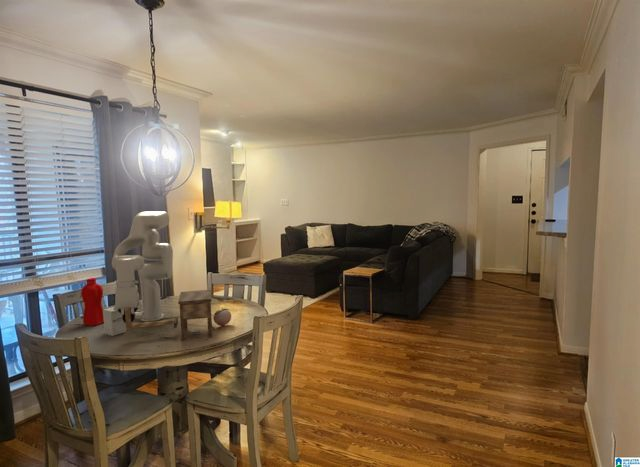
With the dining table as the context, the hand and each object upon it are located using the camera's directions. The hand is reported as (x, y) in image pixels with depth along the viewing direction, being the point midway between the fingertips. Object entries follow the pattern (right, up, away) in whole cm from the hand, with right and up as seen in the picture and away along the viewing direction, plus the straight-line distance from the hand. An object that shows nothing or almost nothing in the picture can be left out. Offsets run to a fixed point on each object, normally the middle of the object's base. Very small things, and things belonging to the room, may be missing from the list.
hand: (128, 321), depth 188 cm
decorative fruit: (+41, -7, +18) cm, 45 cm away
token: (+29, -8, +9) cm, 31 cm away
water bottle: (-32, -7, +26) cm, 42 cm away
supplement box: (-12, -8, +11) cm, 18 cm away
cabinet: (+30, -8, +9) cm, 32 cm away
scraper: (+10, -4, +3) cm, 11 cm away
